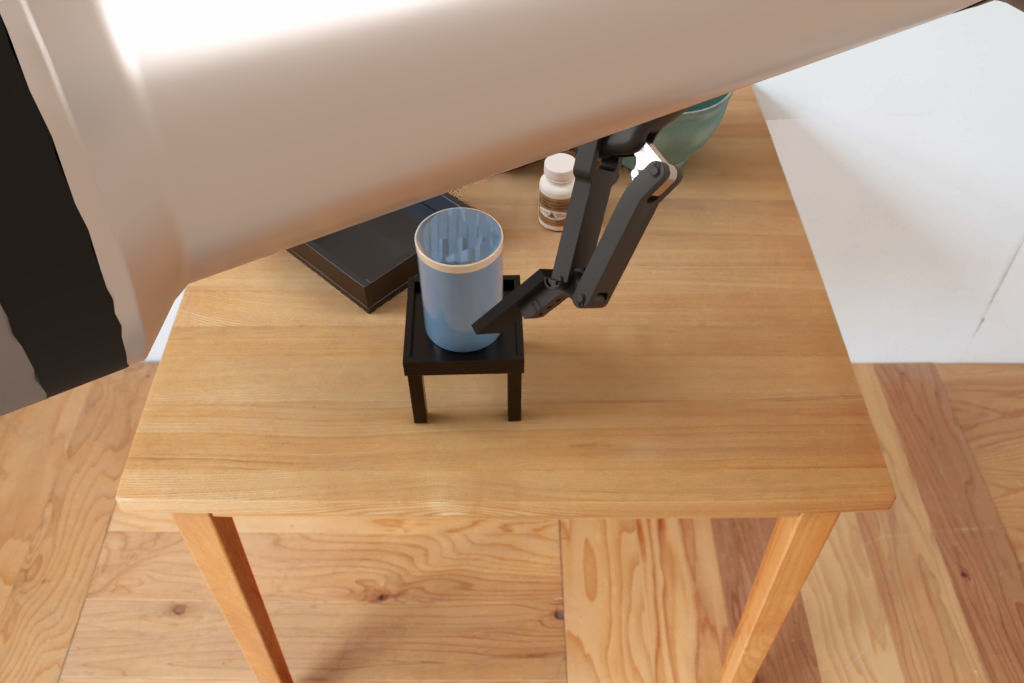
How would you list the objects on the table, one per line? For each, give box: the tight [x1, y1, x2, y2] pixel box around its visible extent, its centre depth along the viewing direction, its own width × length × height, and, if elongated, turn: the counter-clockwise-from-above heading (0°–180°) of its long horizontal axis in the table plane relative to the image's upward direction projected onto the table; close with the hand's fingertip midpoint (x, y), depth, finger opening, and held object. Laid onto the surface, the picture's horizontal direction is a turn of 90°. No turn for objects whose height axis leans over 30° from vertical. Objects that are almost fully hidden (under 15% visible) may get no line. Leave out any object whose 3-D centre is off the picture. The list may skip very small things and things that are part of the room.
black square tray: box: [285, 192, 474, 315], centre depth 91 cm, size 16×16×4 cm
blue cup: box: [415, 207, 504, 352], centre depth 70 cm, size 7×7×10 cm
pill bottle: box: [537, 152, 576, 232], centre depth 92 cm, size 4×4×8 cm
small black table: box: [401, 274, 525, 424], centre depth 76 cm, size 10×10×9 cm
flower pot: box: [621, 91, 734, 171], centre depth 99 cm, size 16×16×11 cm
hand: (442, 246), depth 59 cm, fingers open, 13 cm apart
